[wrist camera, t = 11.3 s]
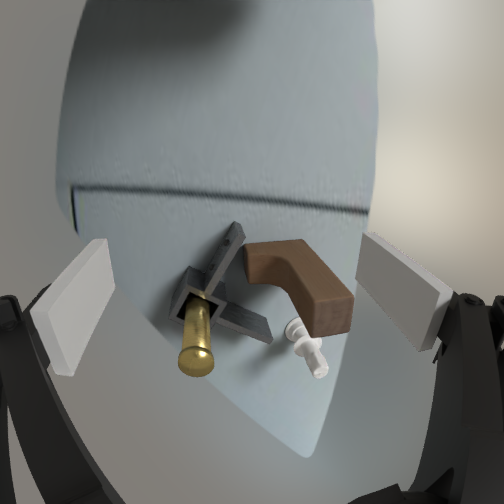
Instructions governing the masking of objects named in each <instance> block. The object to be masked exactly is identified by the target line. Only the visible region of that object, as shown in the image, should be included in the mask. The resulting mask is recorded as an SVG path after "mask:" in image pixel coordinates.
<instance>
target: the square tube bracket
mask: <svg viewBox="0 0 504 504" xmlns="http://www.w3.org/2000/svg"><path fill="white" fill-rule="evenodd" d="M245 238H246V237H245V234H244V232H243V229H242V226H241V224H239V223H237V222H236V221H234V223H233V224H232V226H231V228H230V229H229V231H228V233H227V235H226V236H225V238H224V240H223V241H222V243H221V245H220V247H219V248H218V250H217V252H216V254H215V255H214V257H213V259H212V260H211V262H210V264H209V266H208V267H207V269H206V271H205V273H203V272H201V271H199V270H197V269H195V268H193V267H191V266H189V267H188V269H187V271H186V273H185V274H184V276H183V278H182V280H181V282H180V284H179V286H178V288H177V289H176V291H175V293H174V295H173V297H172V301H171V307H170V312H169V317H168V319H170V320H172V321H175V322H177V323H179V324H182V325H184V321H185V311H186V302H187V299H186V297H187V295H188V294H189V292H192V293H194V294H196V295H198V296H200V297H202V298H205V299H207V300H209V317H210V330H211V328H212V327H213V325H214V324H215V322H216V323H218V324H220V325H223V326H225V327H227V328H230V329H232V330H235V331H237V332H240V333H242V334H245V335H247V336H250V337H252V338H255V339H257V340H260V341H262V342H265V343H268V344H270V343H271V342H272V340H273V337H272V334H271V331H270V328H269V325H268V322H267V319H266V317H263V316H261V315H259V314H256V313H254V312H252V311H250V310H247V309H245V308H243V307H241V306H238V305H236V304H234V303H232V302H229V301H227V295H226V288H225V283H224V282H222V281H220V279H221V277H222V276H223V274H224V272H225V271H226V269H227V267H228V266H229V264H230V262H231V261H232V259H233V257H234V256H235V254H236V252H237V251H238V249H239V248H240V246H241V244H242V243H243V241H244V239H245Z"/></svg>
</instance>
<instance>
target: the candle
mask: <svg viewBox="0 0 504 504" xmlns="http://www.w3.org/2000/svg"><path fill="white" fill-rule="evenodd" d="M285 334H286V337H287V338H288V339H289V340H291V341H293V342H296V343H295V345H294V352H295V353H296V354H297V355H298V356H301V357H304V358H305V360H306V363H307V365H308V367H309V369H310V371H311V373H312V375H313V376H314V377H315V378H318V379H320V378H322V377H324V376H325V375H326V374H327V373H328V365H327V363H326V360H325V357H324V356H323V355H322V354H321V353H320V351H319V349H320V347H321V345H322V340H321V338H311V337H310V336H309V334H308V332H307V330H306V328H305V326H304V324H303V322H302V320H301V318H300V317H298V318H295V319H294V320H292V321H291V322H290V323H289V324H288V325H287V327H286V330H285Z"/></svg>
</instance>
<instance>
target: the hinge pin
mask: <svg viewBox="0 0 504 504" xmlns="http://www.w3.org/2000/svg"><path fill="white" fill-rule="evenodd" d="M178 366H179V368H180V370H181V371H182V372H183V373H185V374H186V375H189V376H192V377H202V376H205V375H207V374H209V373H210V372H211V371H212V370H213V368H214V357H213V355H212V353H211V345H210V317H209V300H207V299H205V298H202V297H200V296H198V295H196V294H194V293H192V292H189V294H188V295H187V302H186V311H185V321H184V332H183V343H182V351H181V352H180V354H179V357H178Z"/></svg>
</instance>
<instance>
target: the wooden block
mask: <svg viewBox="0 0 504 504" xmlns="http://www.w3.org/2000/svg"><path fill="white" fill-rule="evenodd" d="M243 251H244V270H245V274H246V277H247V281H248V283H249V284H272V285H275V286H278V287H281V288H282V289H283V290H285V291H286V292H287V293H288V295H289V297H290V299H291V301H292V303H293V304H294V306H295V308H296V310H297V312H298V314H299V316H300V318H301V320H302V322H303V324H304V326H305V328H306V330H307V332H308V334H309V336H310V337H311V338H320V337H325V336H331V335H337V334H342V333H347V332H349V330H350V326H351V319H352V313H353V306H354V295H353V294H352V293H351V292H350V291H349V290H348V289H347V287H346V286H345V285H344V284H343V283H342V282H341V281H340V280H339V278H338V277H337V276H336V275H335V274H334V273H333V272H332V271H331V270H330V268H329V267H328V266H327V265H326V264H325V263H324V262H323V261H322V260H321V259H320V257H319V256H318V255H317V254H316V253H315V252H314V251H313V250H312V249H311V248H310V247H309V246H308V244H307V243H306V242H305V241H304V240H302V239H299V240H286V241H273V242H261V243H249V244H244V246H243Z"/></svg>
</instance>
